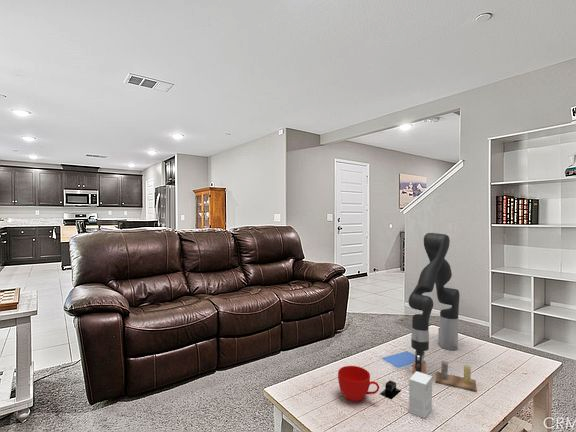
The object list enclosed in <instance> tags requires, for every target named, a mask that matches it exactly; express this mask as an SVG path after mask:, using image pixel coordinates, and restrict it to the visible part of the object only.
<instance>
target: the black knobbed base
mask: <svg viewBox="0 0 576 432" xmlns="http://www.w3.org/2000/svg"><path fill="white" fill-rule="evenodd" d="M384 387H385V388H384V390H382V391H381V392H380V393H379V395H380V396H382V397H385V398H387V399H389V400H393V399H394V398H395V397H396V396H397V395H398V394H400V393H401V392H402V390H401V389H399V388H397V383H396V382H395V381H393V380H388V381H387V382H385V386H384Z"/></svg>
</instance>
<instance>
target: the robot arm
mask: <svg viewBox="0 0 576 432" xmlns="http://www.w3.org/2000/svg"><path fill="white" fill-rule="evenodd" d="M450 243H451V241H450V236H449V235H448V234H444V233H437V232H427V233H426V234H425V235H424V236H423V247H424V250H425V253H426V254H427V257H428V261H429V262H428V264H427V265H426V266H424V268H423V269H422V270H421V271H420V275H419V278H418V281H417V284H416V286H415V287H414V289H413V291H412V292H411V293H410V295H409V297H408V305H409V307H410V308H411V309H414V310H416V311H417V310H418V311H420V312H421V311H422V314H421V313H416V314H413V315H412V319H411V325H412V327H411V339H410V340H411V341H410V343H411V344H410V345H411V348H412V349H413V350H415V352H414V355H415V369H416V371H417V372H421V369H422V364H423V360H425V356H426V355H425V354H426V351H429V347H430V332H429V328H430V326H429V324H430V323H429V322H430V317H431V313H432V310H433V308H434V300H433V298H432V297H431V296H429V295H424V294H426V293H427V294H429V293H432V292H433V290H434V288H435V289H436V298H437V301H438V302H439V303H440V304H443V305H449V306H451V307H450V308H443V309H441V310H440V312H439V327H438V332H437V333H438V337H437V338H438V339H437V340H438V341H437V344H438V345H439V347H440V348H441V349H444V350H448V351H456V350H458V347H459V312H460V311H459V309H460V298H461V297H460V290H458V289H456V288H452V287H445V286H446V284H448V282H449V281H450V280H451V279H452V276H453V273H452V267H451V265H450V263H449V262H448V261H447V260H446V259H445V258H446V255H447V253H448V250H449V249H450ZM421 361H422V362H421ZM417 364H420V366H417Z"/></svg>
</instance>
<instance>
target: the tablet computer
mask: <svg viewBox="0 0 576 432" xmlns="http://www.w3.org/2000/svg"><path fill="white" fill-rule="evenodd" d="M414 359H415V353H414V354H413V352H409V351H408V350H405V351H402V352H399V353H395V354H392V355H387V356H384V357H380V360H381V361H382V362H384V363H385V364H388V366H390V367H392V368H394V369H396V370H398V371H399V370H403V369H405V368H408V367H413V362H414ZM423 361H426V359H424V360H423Z"/></svg>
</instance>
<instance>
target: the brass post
mask: <svg viewBox="0 0 576 432" xmlns="http://www.w3.org/2000/svg"><path fill="white" fill-rule="evenodd" d="M471 368H472V367H471V366H469V365H463V378H464V384H468V385H470V382H471V379H472V378H471V372H472V371H471V370H472V369H471Z"/></svg>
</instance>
